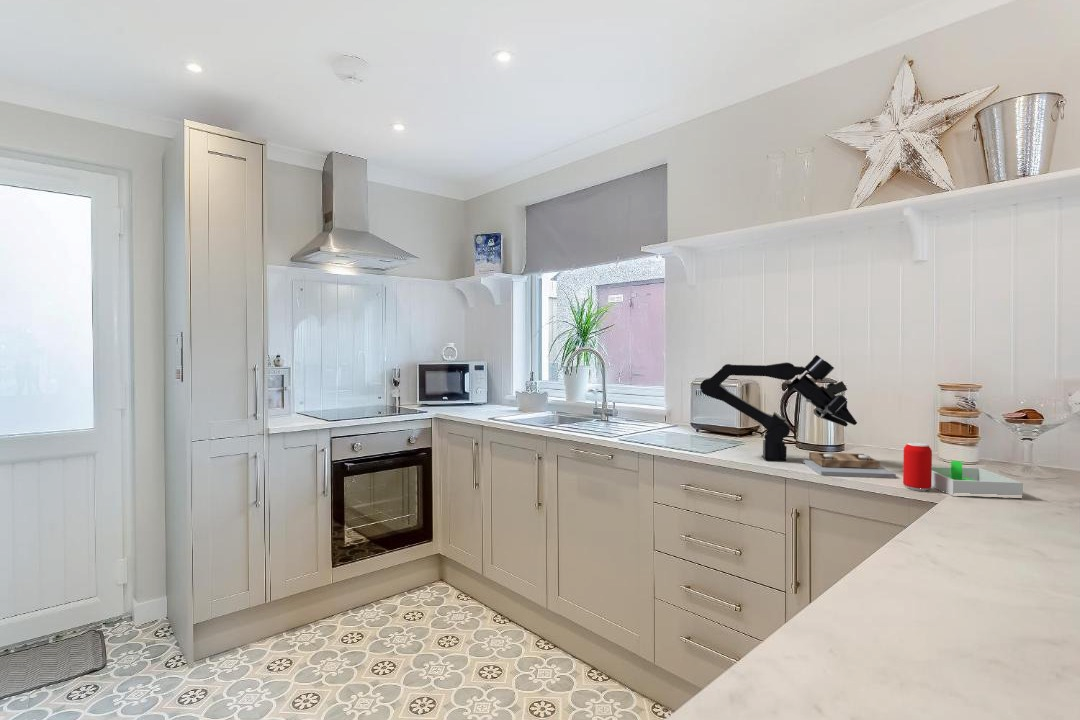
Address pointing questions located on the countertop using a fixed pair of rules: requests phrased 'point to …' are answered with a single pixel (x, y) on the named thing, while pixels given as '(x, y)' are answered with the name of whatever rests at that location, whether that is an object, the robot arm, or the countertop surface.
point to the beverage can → (917, 466)
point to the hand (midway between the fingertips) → (851, 424)
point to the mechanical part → (957, 471)
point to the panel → (843, 460)
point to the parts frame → (975, 482)
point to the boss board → (849, 469)
